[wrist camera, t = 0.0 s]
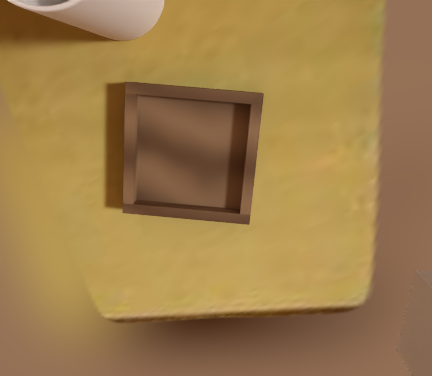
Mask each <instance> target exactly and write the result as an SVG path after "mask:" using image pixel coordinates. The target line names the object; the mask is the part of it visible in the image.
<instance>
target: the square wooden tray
mask: <svg viewBox="0 0 432 376" xmlns="http://www.w3.org/2000/svg"><path fill="white" fill-rule="evenodd" d="M263 95H264V94H263V93H255V92H244V91H232V90H220V89H208V88H197V87H185V86H173V85H161V84H150V83H138V82H125V122H124V170H123V213H129V214H140V215H151V216H161V217H172V218H183V219H194V220H205V221H216V222H227V223H238V224H249V222H250V213H251V204H252V195H253V186H254V177H255V167H256V158H257V149H258V140H259V131H260V122H261V113H262V104H263Z"/></svg>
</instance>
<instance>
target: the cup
mask: <svg viewBox="0 0 432 376" xmlns="http://www.w3.org/2000/svg"><path fill="white" fill-rule="evenodd" d="M7 1H9V2H11V3H12V4H14V5H16V6H19V7H21V8H24V9H26V10H29V11H32V12H35V13H38V14H41V15H43V16H46V17H49V18H52V19H55V20H58V21H61V22H63V23H66V24H69V25H72V26H75V27H78V28H81V29H84V30H86V31H89V32H92V33H95V34H98V35H101V36H104V37H106V38H109V39H113V40H119V41H126V40H132V39H136V38H138V37H140V36H142V35H144V34H146V33H147V32H148V31H149V30H150V29H152V27H153V26H154V25H155V24H156V22H157V21H158V19H159V17H160V15H161V13H162V10H163V7H164V1H165V0H7Z"/></svg>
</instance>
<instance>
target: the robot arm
mask: <svg viewBox="0 0 432 376" xmlns="http://www.w3.org/2000/svg"><path fill="white" fill-rule="evenodd" d="M397 351H398V353H399V355H400V356H401V358H402V360H403V361H404V363H405V365H406V366H407V368H408V370H409V371H410V373H411V374H412V376H432V272H423V271H415V274H414V278H413V282H412V287H411V291H410V295H409V299H408V303H407V307H406V312H405V316H404V320H403V324H402V329H401V333H400V337H399V341H398V346H397Z"/></svg>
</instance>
